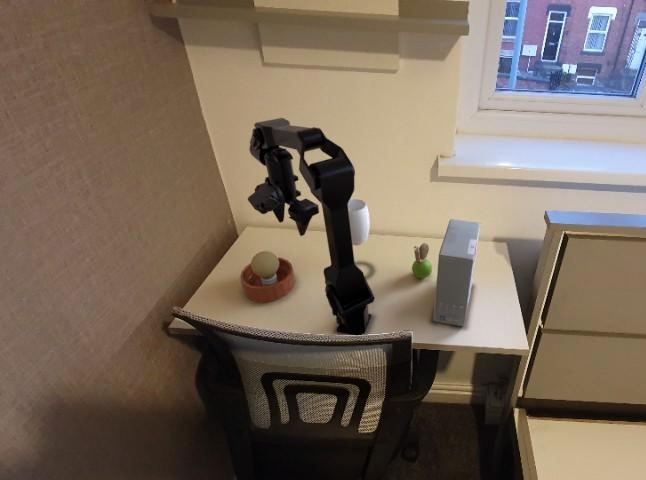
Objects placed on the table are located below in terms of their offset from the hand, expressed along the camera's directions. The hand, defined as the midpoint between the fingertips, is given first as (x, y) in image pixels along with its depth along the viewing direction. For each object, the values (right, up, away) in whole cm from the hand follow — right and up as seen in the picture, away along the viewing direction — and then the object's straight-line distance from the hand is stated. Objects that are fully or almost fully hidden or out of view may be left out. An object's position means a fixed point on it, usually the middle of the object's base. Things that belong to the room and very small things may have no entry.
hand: (291, 228), depth 102 cm
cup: (+16, -12, +6) cm, 21 cm away
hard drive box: (+42, -19, -3) cm, 46 cm away
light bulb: (-5, -15, -1) cm, 16 cm away
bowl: (-5, -15, -1) cm, 16 cm away
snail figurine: (+33, -13, +5) cm, 36 cm away
